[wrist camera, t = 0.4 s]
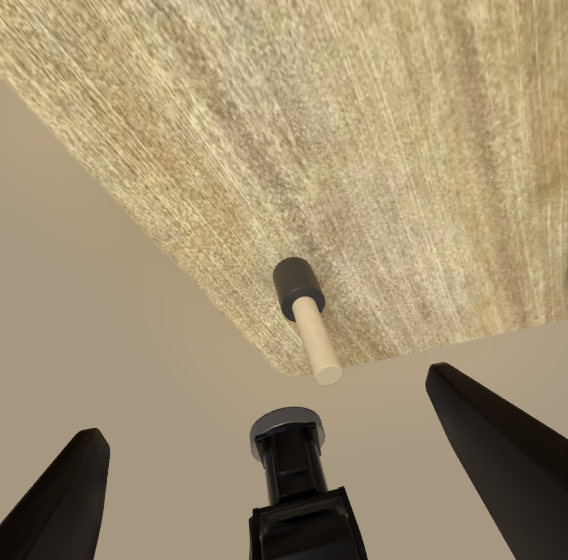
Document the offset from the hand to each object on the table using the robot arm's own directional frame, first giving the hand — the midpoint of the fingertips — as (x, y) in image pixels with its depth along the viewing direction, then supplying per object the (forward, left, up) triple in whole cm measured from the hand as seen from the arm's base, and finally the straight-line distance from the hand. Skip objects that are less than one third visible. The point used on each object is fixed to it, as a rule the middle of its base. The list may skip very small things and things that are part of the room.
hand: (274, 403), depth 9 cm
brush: (-6, -3, -15) cm, 17 cm away
